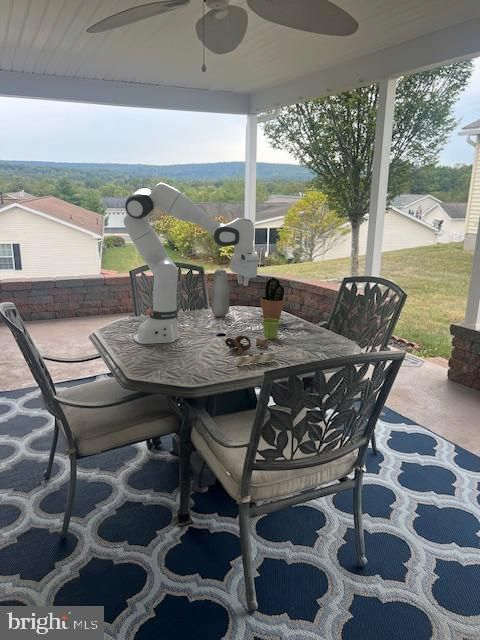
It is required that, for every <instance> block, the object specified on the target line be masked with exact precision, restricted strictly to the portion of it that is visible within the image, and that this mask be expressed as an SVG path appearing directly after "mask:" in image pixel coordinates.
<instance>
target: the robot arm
mask: <svg viewBox="0 0 480 640" xmlns="http://www.w3.org/2000/svg"><path fill="white" fill-rule="evenodd" d="M124 207H125V209H124V210H125V211H126V213H127V214H126V215H125V216H124V218H123V225H124V227H125V229H126V232H127V234H128V236H129V238H130V239H131V240H132V243H133V244H134V246H135V247H136V250H137V251H138V252H139V254H140V255H141V257H142V259H143V261H145V263H146V265H147V266H148V268H149V270H150V271H151V272H152V275H153V292H152V295H153V297H152V298H153V299H152V301H153V308H152V310H150V309H147V310H146V313H147V314H148V315H149V317H148V318H147V319H146V320H145V321H143V322H142V323H141V324H140V325H139V326H138V331H137V333H136V334H134V335H133V340H134V342H136V343H138V344H140V345H149V344H150V345H151V344H167V343H169V344H170V343H173V342H175V341H177V340H179V339H180V338H181V336H180V331H179V327H178V318H179V317H178V314H179V313H178V309H177V290H178V281H179V280H178V279H179V272H178V271H179V269H178V267H177V265H176V263H174V261H173V260H172V259H171V258H170V256H169V254H168V252H167V250H166V249H165V246H164V245H163V243H162V241H161V240H160V238H159V236H158V235H157V233H156V231H155V229H154V228H153V226H152V224H151V223H150V221H149V215H151V213H152V212H153V211H154V210H155V209H160V210H162V211H164V212H165V213H167V214H168V215H170V216H171V217H173V218H175V219H177V220H179V221H182V222H189V223H192V224H196V225H197V226H199V227H200V228H202V229H204V230H206V231H207V232H209V233H210V234H212V235H213V240H214V242H215V243H216V245H218V246H219V247H223V248H227V247H234V249H233V256H232V257H231V262H230V271H231V272H232V273H235V274H236V277H237V283H238V284H240V285H241V284H242V285H243V286H245V287H247V286H249V281H250V279H251V278H252V279H255V278H257V276H258V264H259V263H258V261H259V255H258V254H257V253H256V252H255V251H254V248H255V247H254V240H255V225H254V223H253V221H252V220H251V219H248V218H244V217H237V218H235V219H234V220H233V221H231V222H227V223H226V222H220V221H218V220H217V219H215V218H213V217H212V216H210V215H209V214H207V213H205V211H203V210H202V209H201V208H199V206H198V205H197V204H196V203H195V202H194V201H193V200H192V199H191V198H190V197H188V196H187V195H186V194H185V193H183V192H182V191H180V190H179V189H177V188H176V187H173V186H171V185H169V184H166V183H164V182H159V183H157V184H156V185H155V186H154V187H153V188H152V187H149V186H144V187H143V186H142V187H140V188H139V189H136V190H135V191H134V192H133V193H132V194H131V195H129V196H128V197H127V199H126V200H125V204H124ZM242 277H243V278H242Z"/></svg>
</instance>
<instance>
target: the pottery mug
mask: <svg viewBox="0 0 480 640" xmlns="http://www.w3.org/2000/svg"><path fill="white" fill-rule="evenodd" d="M242 340H245V341H246V342H248V344H246V345H244V343H242V342H241V341H242ZM224 342H225V346H227V347H228V348H229V349H230V350H232V348H233V349H234V348H237V349H238V350H237V352H236V353H237V354H238V353H241V354H242V353H244V352H247V351H249V350H250V349H251V347H252V345H251V344H252V342H251V339H250V338H249V337H248V336H246V335H242V334H241V335H237V336H236V337H234V338H232V337H226V339H225V340H224Z"/></svg>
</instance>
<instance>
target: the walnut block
mask: <svg viewBox="0 0 480 640" xmlns="http://www.w3.org/2000/svg"><path fill="white" fill-rule="evenodd" d="M257 346H260V347H264V348H266V347H265V346H267V347H268V346H269V339H268V338H265V337H264V336H260V337H256V338H255V347H257ZM260 347H259V348H260Z"/></svg>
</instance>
